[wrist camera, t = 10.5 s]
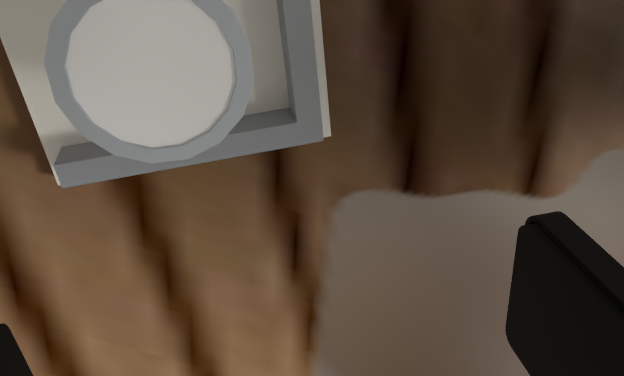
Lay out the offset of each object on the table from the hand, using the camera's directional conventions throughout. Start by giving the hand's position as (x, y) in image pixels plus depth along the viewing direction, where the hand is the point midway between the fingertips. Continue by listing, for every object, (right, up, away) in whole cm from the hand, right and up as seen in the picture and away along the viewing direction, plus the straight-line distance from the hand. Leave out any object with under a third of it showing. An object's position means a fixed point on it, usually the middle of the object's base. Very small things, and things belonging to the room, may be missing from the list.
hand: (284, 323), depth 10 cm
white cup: (-6, +10, +14) cm, 19 cm away
